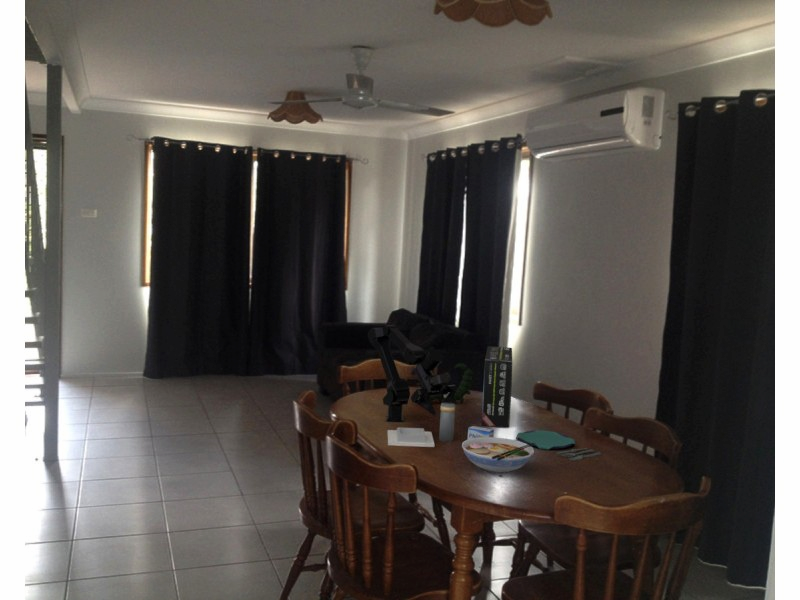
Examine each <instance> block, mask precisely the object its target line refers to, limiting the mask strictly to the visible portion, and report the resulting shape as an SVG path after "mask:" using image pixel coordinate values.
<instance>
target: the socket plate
mask: <svg viewBox="0 0 800 600" xmlns="http://www.w3.org/2000/svg"><path fill="white" fill-rule="evenodd" d="M387 446H399V447H423V448H424V447H426V448H435V440H434V436H433V434H432V431H425V429H424V428H423V427H422V428H421V427H396V429H394V430H393V429H387Z"/></svg>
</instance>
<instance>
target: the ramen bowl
mask: <svg viewBox="0 0 800 600" xmlns="http://www.w3.org/2000/svg"><path fill="white" fill-rule="evenodd" d="M467 439H468V438H467ZM467 439H466V440H464V441H463V442H462V443H461V448H462V449H463V452H464V454H465V455H466V457H467V459H468V460H469V461H471V463H472V464H474V465H475V466H477V467H478V468H481V469H483V470H486V471H487V472H489V473H493V474H505V473H508V472H511V471H512V472H513V471H516V470H518V469H520V468H522V467H524V465H526V464H527V463H528V462H529V461H530V459H531V458H532V457H533V456H534V453H535V449H534V447H533V446H532V445H533V443H531V444H532V445H531V444H526V443H524V442H522V441H520V440H517V439H511V438H506V437H505V438H504V437H494V436H493V437H479V438H472V439H468V440H467ZM534 444H536V443H534Z"/></svg>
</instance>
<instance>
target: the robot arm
mask: <svg viewBox="0 0 800 600" xmlns="http://www.w3.org/2000/svg"><path fill="white" fill-rule="evenodd" d="M367 338H368V339H367V340H369V343H370V345H371V346H372V347H373V348H374V349H375V350H376V351H377V353H378V357H379V359H380V362H381V366H382V367H383V370H384V371H383V372H384V375H385V377H386V381H387V386H386V394H385V396H384V397H383V398H382V403H383V405H385V406H387V416H386V417H385V418H386V422H399V423H401V422H402V423H403V422H404V416H403V405H408V403H409V400H411V403H412V404H416V406H419V407H421V408H423V409H424V410H426V412H428V413H429V414H430V415H432V416H436V413H437V412H436V410H435V408H434V406H433V404H432V403H431V402H430V397H432V396H440V395H441V397H442V398H443V399H444V400H443V401H444V403H445V402H448V403H454V395H455V394H456V392H457V391H458V389H457V388H458V387H457V386H456V384H450V385H449V382H450V381H452V376H451V375H450V373H449V372H443V373H442V374H437V375H434V373H433V372H432V371H434V370H436V369H437V368H438V366H439V365H440V364H441V363H442V362H443V360H444V355H443V354H442V353H441V352H440V351H439V350H437V349H436V348H435V347H428V348H427V351H425V349H423V348H422V347H421V346H419V345H415V344H413V343H412V342H411V341H410V340H409V339H408V338H407V337H406V336H405V335H404V334H403V333H402V332H401V330H399V328H398V326H397V325H395V324H391V325H384V326H382V327H371V328H370V329H369V331H368V332H367ZM390 342H392V343H393V344H394V345H395V346H396V347H397V348H398V349H399V350H400V351H401V352H402V358H403V359H404V360H405V362H406V363H407V365H409V366H413V365H415V366H414V367H412V371H411V376H414V375H416V378H417V379H418V381H419V383H420V384H419V386H420V387H423V388H420V387H419V386H418V387H419V388H417V389H416V390H415V391H414V392H413V393H412V394H411V391H410V387H409V385H408V381H407V380H406V379H404V380H403V379H402V378H401V377H400V374H399V371H398V369H397V366H396V362H395V359H394V357H393V354H392V350H391V348H390ZM445 384H448V385H445ZM444 385H445V386H446V387H445V388H444V389H443V390H441V388H442V387H443V386H444Z"/></svg>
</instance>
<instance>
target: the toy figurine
mask: <svg viewBox="0 0 800 600" xmlns="http://www.w3.org/2000/svg"><path fill="white" fill-rule="evenodd" d="M457 368H458V369H459V368H460V369H461V370H463V371H464V373H463V375H462V380H460V385H459V386H458V387H457V389H458V391H457V392H456V394H455V395H454V404H455V405H456V403H457V401H459V402H460V403H464V401H465V398H464V397H465V395H468V396H469V395H471V391H470V390H469V388H472V386H473V385H472V384H471V381H473V380H474V379H473V377H472V375H474V371H472V369H470V368H468V366H467V365H466V364H465V363H457V364H456V365H455V366H454V370H455V369H457ZM415 384H416V385H417V386H418V387H419V389H422V388H423V387H420V386H419V384H420V382H417V383H415ZM446 386H447V385H443V387H442V388H441V390H443V389H444V388H445V387H446ZM436 400H438V401H439V402H441V403H444V401H443V400H444V399H443V398H442V397H441V395H440V396H432V397H430V402H431V404H432V403H433V401H436Z"/></svg>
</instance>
